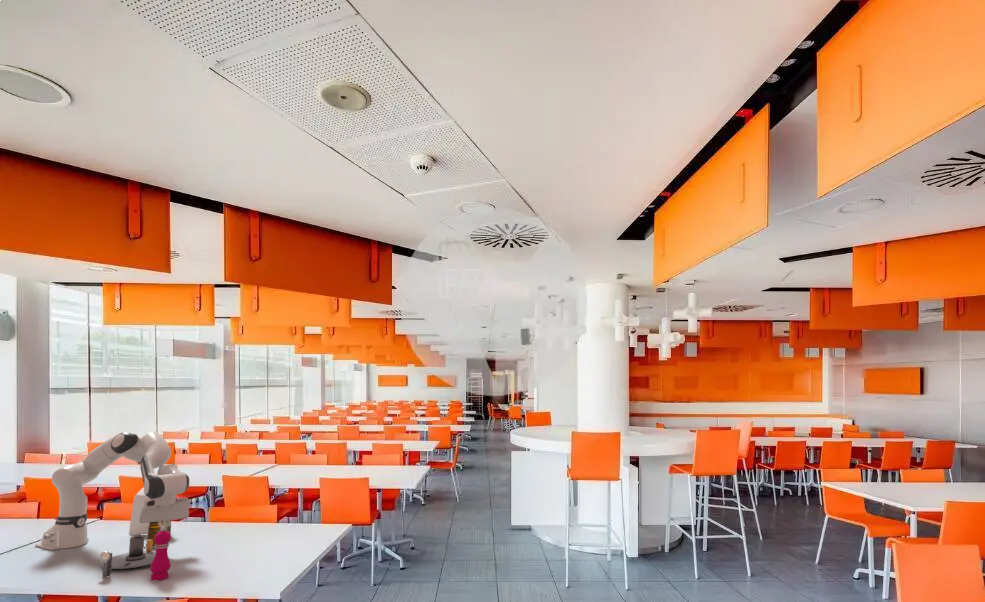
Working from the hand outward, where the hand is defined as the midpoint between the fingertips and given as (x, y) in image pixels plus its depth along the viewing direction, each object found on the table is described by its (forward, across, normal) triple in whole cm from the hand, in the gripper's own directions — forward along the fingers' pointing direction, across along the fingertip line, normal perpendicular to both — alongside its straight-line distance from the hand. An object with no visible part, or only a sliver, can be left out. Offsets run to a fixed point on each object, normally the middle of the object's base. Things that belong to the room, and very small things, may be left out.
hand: (163, 530), depth 268 cm
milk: (+10, +7, -51) cm, 53 cm away
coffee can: (+11, +1, -36) cm, 37 cm away
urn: (+9, +10, +9) cm, 16 cm away
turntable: (+9, +11, +9) cm, 17 cm away
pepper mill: (+11, +1, +37) cm, 39 cm away
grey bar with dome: (+11, +20, +24) cm, 33 cm away
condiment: (+11, +4, -20) cm, 23 cm away
